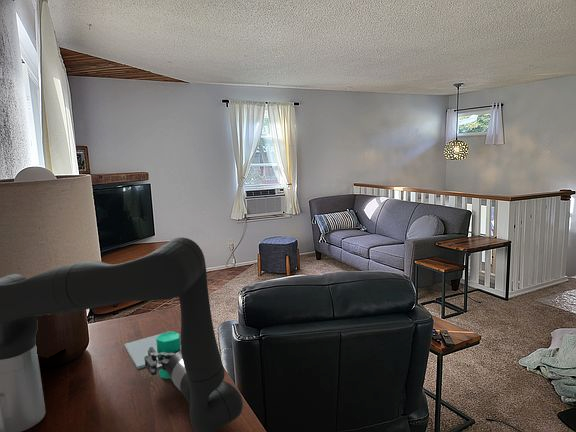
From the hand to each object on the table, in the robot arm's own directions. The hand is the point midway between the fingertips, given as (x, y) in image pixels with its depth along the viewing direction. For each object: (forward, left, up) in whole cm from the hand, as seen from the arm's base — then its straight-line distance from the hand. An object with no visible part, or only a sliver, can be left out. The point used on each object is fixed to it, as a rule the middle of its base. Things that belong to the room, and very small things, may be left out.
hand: (166, 345), depth 105 cm
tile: (+5, +12, -7) cm, 15 cm away
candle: (-1, -2, -7) cm, 7 cm away
